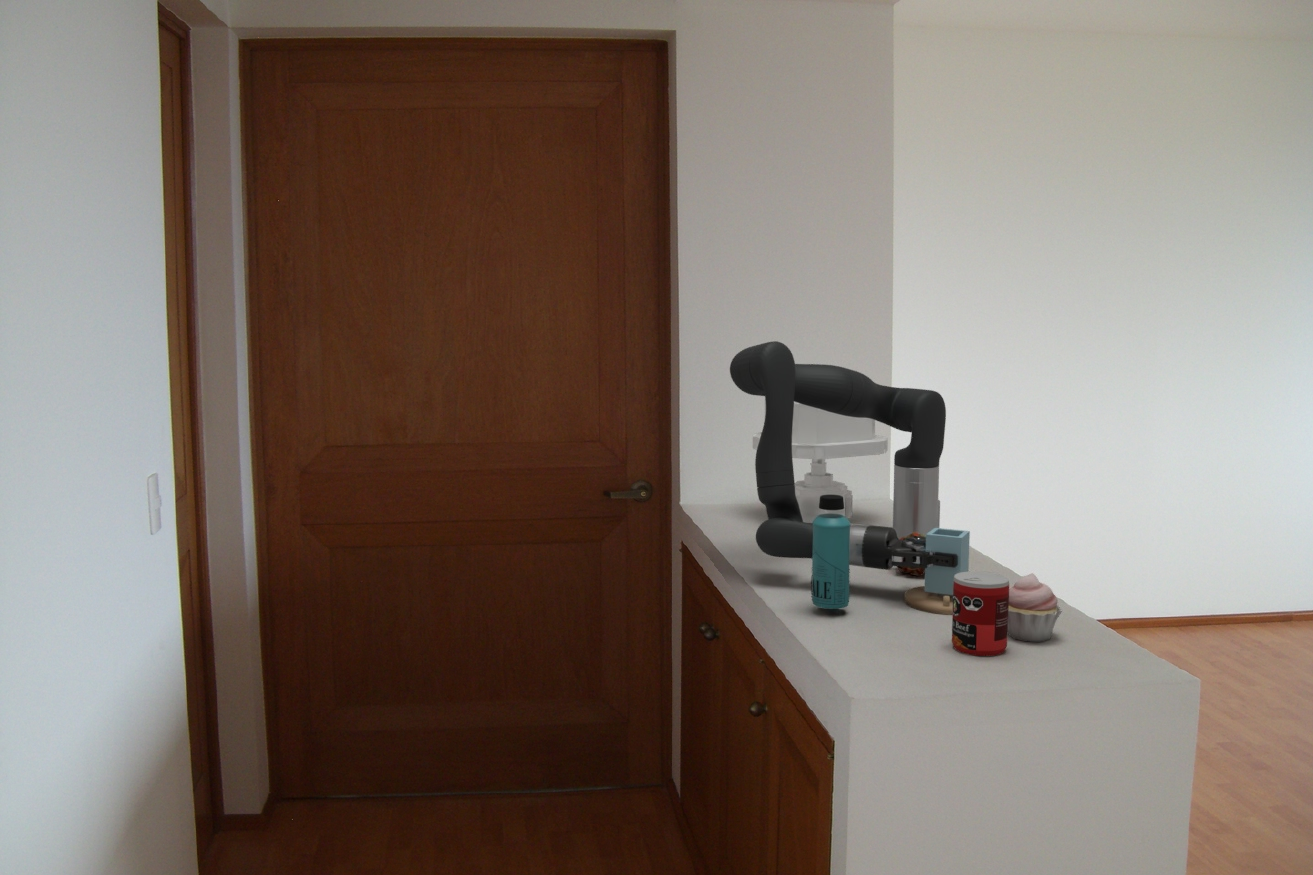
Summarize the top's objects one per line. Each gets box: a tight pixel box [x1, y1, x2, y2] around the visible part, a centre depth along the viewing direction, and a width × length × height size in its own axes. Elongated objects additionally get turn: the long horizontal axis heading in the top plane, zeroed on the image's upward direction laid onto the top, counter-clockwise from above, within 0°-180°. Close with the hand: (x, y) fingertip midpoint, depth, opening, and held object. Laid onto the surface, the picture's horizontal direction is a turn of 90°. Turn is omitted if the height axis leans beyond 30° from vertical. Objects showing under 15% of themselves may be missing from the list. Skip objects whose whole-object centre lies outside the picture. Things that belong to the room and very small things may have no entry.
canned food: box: [951, 570, 1010, 657], centre depth 160 cm, size 8×8×11 cm
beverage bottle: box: [810, 495, 851, 610], centre depth 179 cm, size 6×7×20 cm
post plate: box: [904, 585, 953, 616], centre depth 184 cm, size 14×14×8 cm
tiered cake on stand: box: [752, 399, 889, 523], centre depth 249 cm, size 27×27×35 cm
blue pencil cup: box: [924, 527, 971, 595], centre depth 184 cm, size 6×6×10 cm
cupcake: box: [1007, 572, 1063, 643], centre depth 166 cm, size 9×9×10 cm
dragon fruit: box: [896, 532, 926, 577], centre depth 205 cm, size 8×8×12 cm
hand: (961, 556), depth 183 cm, fingers open, 6 cm apart
